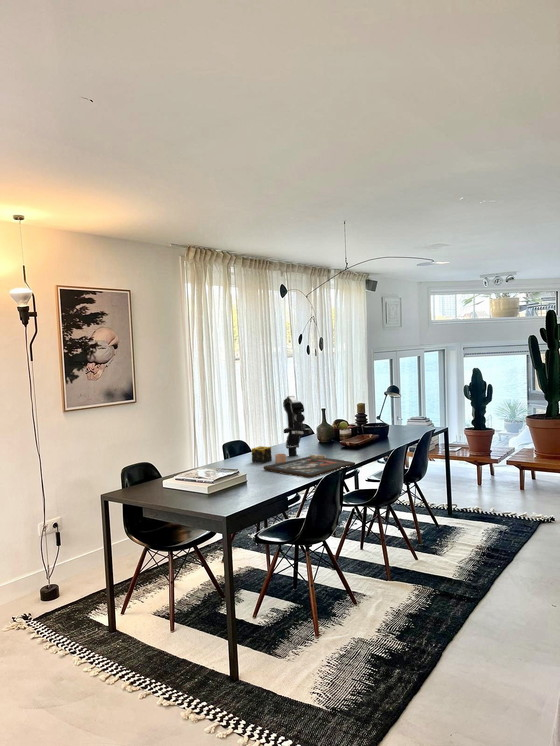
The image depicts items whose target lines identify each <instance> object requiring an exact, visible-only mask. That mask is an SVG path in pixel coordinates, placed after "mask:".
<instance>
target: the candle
mask: <svg viewBox="0 0 560 746" xmlns="http://www.w3.org/2000/svg"><path fill="white" fill-rule="evenodd" d="M271 461H273V457H272V447H271V446H261V445H259V446H257V447H253V448H251V462H252V463H255V464H265V463H268V462H271Z"/></svg>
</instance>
